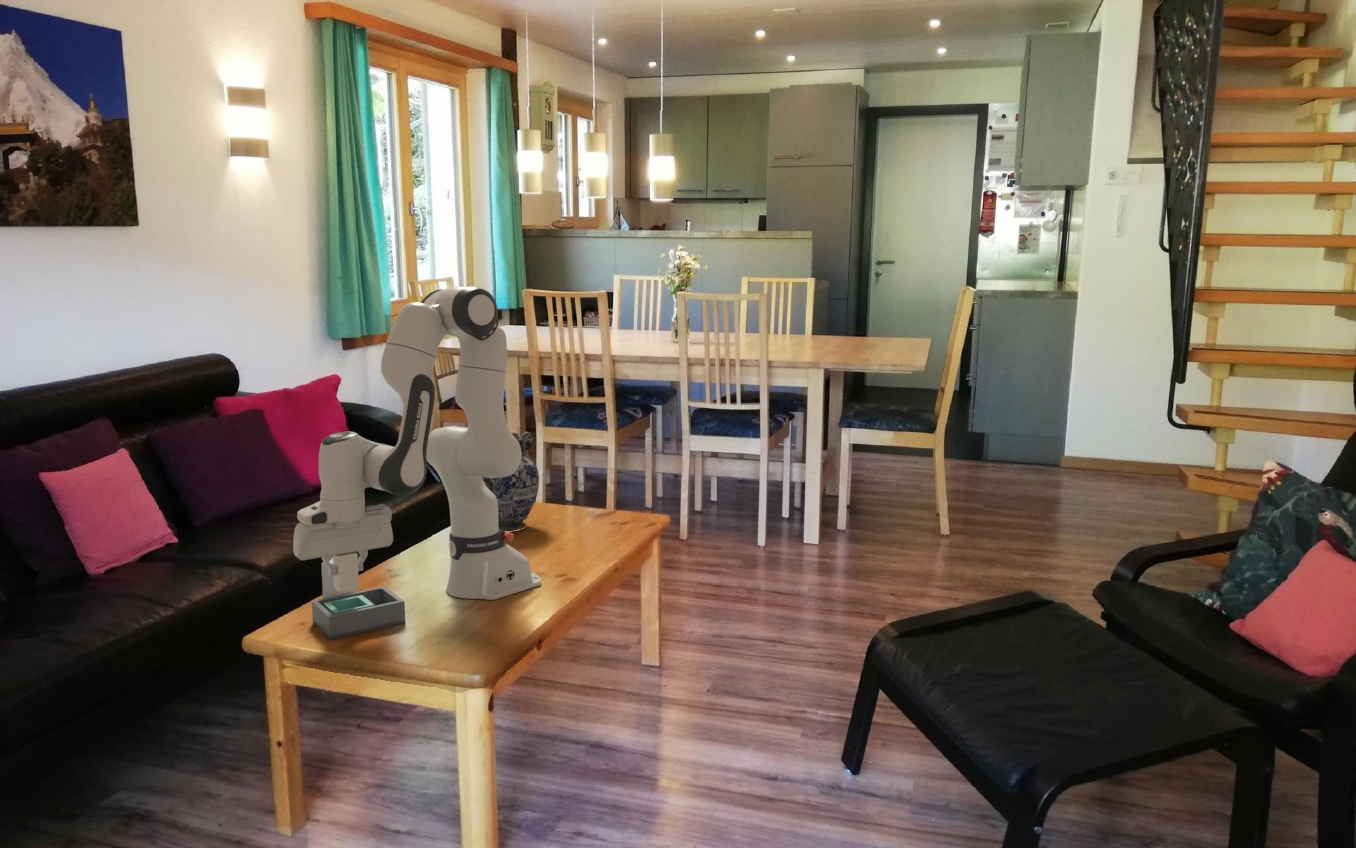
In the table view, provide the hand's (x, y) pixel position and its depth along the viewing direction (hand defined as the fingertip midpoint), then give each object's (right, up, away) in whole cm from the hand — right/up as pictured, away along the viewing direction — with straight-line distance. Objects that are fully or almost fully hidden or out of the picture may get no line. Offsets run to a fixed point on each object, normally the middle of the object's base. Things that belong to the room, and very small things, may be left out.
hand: (345, 572), depth 204 cm
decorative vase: (+21, +1, +78) cm, 81 cm away
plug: (0, -4, +1) cm, 4 cm away
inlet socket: (0, -12, +2) cm, 12 cm away
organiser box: (+2, -11, +3) cm, 12 cm away
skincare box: (-5, -10, +11) cm, 16 cm away
